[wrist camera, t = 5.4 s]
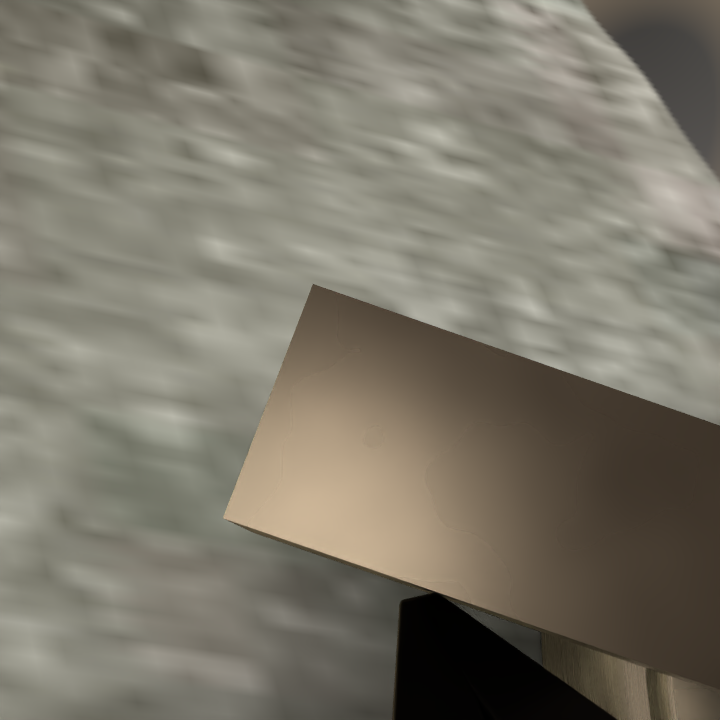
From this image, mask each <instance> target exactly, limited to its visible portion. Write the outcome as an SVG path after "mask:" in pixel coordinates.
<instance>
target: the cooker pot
mask: <svg viewBox="0 0 720 720" xmlns="http://www.w3.org/2000/svg"><path fill="white" fill-rule="evenodd" d="M541 641H542V662H543V667H544V668H545V669H547V670H548V671H550V672H551V673H552V674H554V675H555V676H557V677H558V678H560V679H561V680H562V681H564V682H565V683H567V684H568V685H569V686H571V687H572V688H574V689H575V690H577V691H578V692H579V693H581V694H582V695H584V696H585V697H587V698H588V699H589V700H591V701H592V702H594V703H595V704H596V705H598V706H599V707H601V708H602V709H604V710H605V711H606V712H608V713H609V714H611V715H612V716H614V717H615V718H616V719H618V720H651V717H650V709H649V701H648V693H647V685H646V668H644V667H641V666H638V665H635V664H633V663H630V662H627V661H624V660H621V659H618V658H615V657H612V656H609V655H606V654H604V653H601V652H598V651H595V650H592V649H589V648H586V647H583V646H580V645H577V644H575V643H572V642H569V641H566V640H563V639H560V638H557V637H554V636H551V635H549V634H546V633H543V632H541Z"/></svg>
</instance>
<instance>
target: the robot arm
mask: <svg viewBox="0 0 720 720" xmlns="http://www.w3.org/2000/svg"><path fill="white" fill-rule="evenodd" d="M392 720H618V719H616V718H615V717H614V716H612V715H611V714H609V713H608V712H606V711H605V710H604V709H602V708H601V707H599V706H598V705H596V704H595V703H594V702H592V701H591V700H589V699H588V698H587V697H585V696H584V695H582V694H581V693H579V692H578V691H577V690H575V689H574V688H572V687H571V686H569V685H568V684H567V683H565V682H564V681H562V680H561V679H560V678H558V677H557V676H555V675H554V674H552V673H551V672H550V671H548V670H547V669H545V668H544V667H542V666H541V665H540V664H538V663H537V662H535V661H534V660H532V659H531V658H530V657H528V656H527V655H525V654H524V653H523V652H521V651H520V650H518V649H517V648H515V647H514V646H513V645H511V644H510V643H508V642H507V641H505V640H504V639H503V638H501V637H500V636H498V635H497V634H496V633H494V632H493V631H491V630H490V629H488V628H487V627H486V626H484V625H483V624H481V623H480V622H478V621H477V620H476V619H474V618H473V617H471V616H470V615H469V614H467V613H466V612H464V611H463V610H461V609H460V608H459V607H457V606H456V605H454V604H453V603H451V602H450V601H449V600H447V599H446V598H444V597H443V596H441V595H439V594H436V593H431V594H426V595H421V596H417V597H413V598H409V599H404V600H402V601H401V602H400V605H399V620H398V636H397V651H396V667H395V683H394V699H393V715H392Z"/></svg>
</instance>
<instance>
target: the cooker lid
mask: <svg viewBox="0 0 720 720" xmlns="http://www.w3.org/2000/svg"><path fill="white" fill-rule="evenodd" d="M223 518H224V519H226V520H228V521H230V522H232V523H234V524H236V525H238V526H240V527H243V528H245V529H247V530H249V531H251V532H253V533H256V534H259V535H262V536H265V537H268V538H270V539H273V540H276V541H279V542H282V543H285V544H288V545H291V546H294V547H297V548H299V549H302V550H305V551H308V552H311V553H314V554H317V555H320V556H323V557H326V558H328V559H331V560H334V561H337V562H340V563H343V564H346V565H349V566H352V567H354V568H357V569H360V570H363V571H366V572H369V573H372V574H375V575H378V576H381V577H383V578H386V579H389V580H392V581H395V582H398V583H401V584H404V585H407V586H410V587H412V588H415V589H418V590H421V591H424V592H427V593H430V594H431V593H436V594H439V595H441V596H443V597H444V598H446V599H447V600H450V601H453V602H456V603H459V604H462V605H465V606H467V607H470V608H473V609H476V610H479V611H482V612H485V613H488V614H491V615H493V616H496V617H499V618H502V619H505V620H508V621H511V622H514V623H517V624H520V625H522V626H525V627H528V628H531V629H534V630H537V631H540V632H543V633H546V634H549V635H551V636H554V637H557V638H560V639H563V640H566V641H569V642H572V643H575V644H577V645H580V646H583V647H586V648H589V649H592V650H595V651H598V652H601V653H604V654H606V655H609V656H612V657H615V658H618V659H621V660H624V661H627V662H630V663H633V664H635V665H638V666H641V667H644V668H646V685H647V693H648V701H649V709H650V717H651V720H720V426H719V425H716V424H713V423H711V422H708V421H705V420H702V419H699V418H696V417H693V416H690V415H688V414H685V413H682V412H679V411H676V410H673V409H670V408H667V407H665V406H662V405H659V404H656V403H653V402H650V401H647V400H645V399H642V398H639V397H636V396H633V395H630V394H627V393H624V392H622V391H619V390H616V389H613V388H610V387H607V386H604V385H601V384H599V383H596V382H593V381H590V380H587V379H584V378H581V377H578V376H576V375H573V374H570V373H567V372H564V371H561V370H558V369H555V368H553V367H550V366H547V365H544V364H541V363H538V362H535V361H532V360H530V359H527V358H524V357H521V356H518V355H515V354H512V353H509V352H507V351H504V350H501V349H498V348H495V347H492V346H489V345H486V344H484V343H481V342H478V341H475V340H472V339H469V338H466V337H463V336H461V335H458V334H455V333H452V332H449V331H446V330H443V329H440V328H438V327H435V326H432V325H429V324H426V323H423V322H420V321H418V320H415V319H412V318H409V317H406V316H403V315H400V314H397V313H395V312H392V311H389V310H386V309H383V308H380V307H377V306H374V305H372V304H369V303H366V302H363V301H360V300H357V299H354V298H351V297H349V296H346V295H343V294H340V293H337V292H334V291H331V290H328V289H326V288H323V287H320V286H317V285H314V284H313V286H312V288H311V291H310V293H309V296H308V299H307V301H306V304H305V306H304V309H303V312H302V314H301V317H300V319H299V322H298V325H297V327H296V330H295V332H294V335H293V338H292V340H291V343H290V345H289V348H288V351H287V353H286V356H285V358H284V361H283V364H282V366H281V369H280V371H279V374H278V377H277V379H276V382H275V384H274V387H273V390H272V392H271V395H270V397H269V400H268V402H267V405H266V408H265V410H264V413H263V415H262V418H261V421H260V423H259V426H258V428H257V431H256V434H255V436H254V439H253V441H252V444H251V447H250V449H249V452H248V454H247V457H246V460H245V462H244V465H243V467H242V470H241V473H240V475H239V478H238V480H237V483H236V486H235V488H234V491H233V493H232V496H231V499H230V501H229V504H228V506H227V509H226V511H225V514H224V517H223Z"/></svg>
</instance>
